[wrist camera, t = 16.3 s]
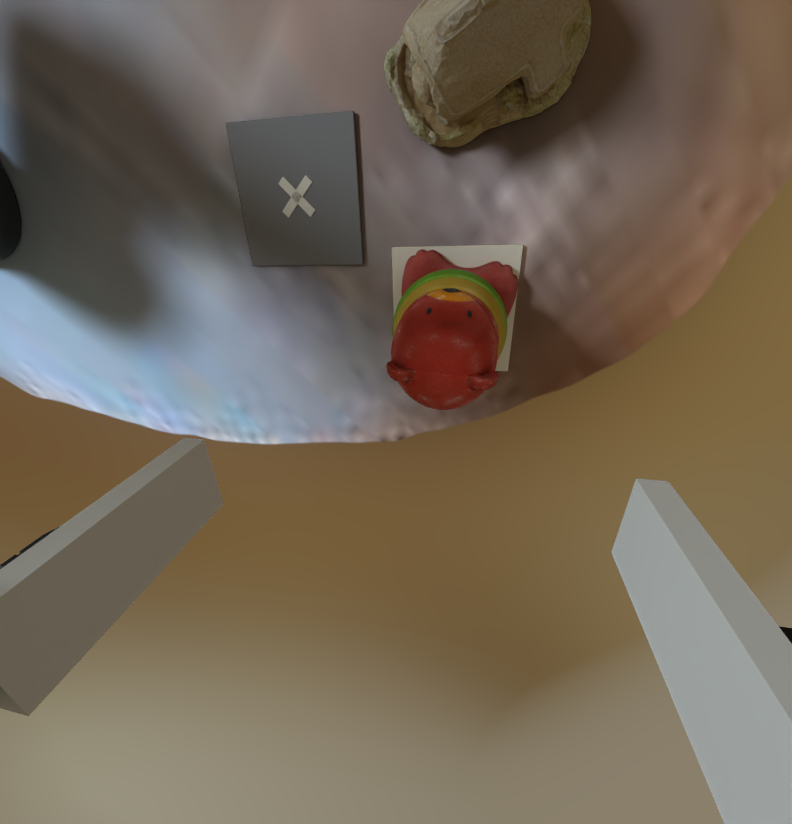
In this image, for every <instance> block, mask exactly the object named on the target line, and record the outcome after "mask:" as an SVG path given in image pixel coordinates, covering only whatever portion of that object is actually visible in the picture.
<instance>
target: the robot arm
mask: <svg viewBox="0 0 792 824" xmlns="http://www.w3.org/2000/svg"><path fill="white" fill-rule="evenodd" d="M19 236H20V216H19V210H18V205H17V202H16V198H15V195H14V192H13V190H12V187H11V185H10V183H9V180H8V178H7V176H6V174H5V172H4V171H3V169H2V167H1V165H0V260H1V259H4V258H6V257H8V256H9V255H10V254H11V253H12V252H13V251H14V250H15V248H16V246H17V244H18V241H19ZM223 504H224V503H223V500H222V496H221V493H220V490H219V487H218V483H217V480H216V477H215V474H214V471H213V467H212V464H211V461H210V458H209V454H208V451H207V448H206V445H205V441H204V440H202V439H190V438H184V439H182V440H181V441H179V442H178V443H176V444H175V445H174V446H172V447H171V448H169V449H168V450H167V451H165V452H164V453H162V454H161V455H160V456H158V457H157V458H155V459H154V460H153V461H151V462H150V463H148V464H147V465H146V466H144V467H143V468H142V469H140V470H139V471H137V472H136V473H134V474H133V475H132V476H130V477H129V478H127V479H126V480H125V481H123V482H122V483H121V484H119V485H118V486H116V487H115V488H113V489H112V490H111V491H109V492H108V493H106V494H105V495H104V496H102V497H101V498H99V499H98V500H97V501H95V502H94V503H92V504H91V505H90V506H88V507H87V508H85V509H84V510H83V511H81V512H80V513H78V514H77V515H76V516H74V517H73V518H72V519H70V520H69V521H67V522H66V523H64V524H63V525H62V526H60V527H58V528H56V529H54V530H52V531H50V532H48V533H46V534H44V535H42V536H41V537H40V538H38V539H37V540H35V541H34V542H33V543H31V544H30V545H28V546H27V547H25V548H24V549H23V550H21V551H20V554H19V555H14V556H13V557H11V558H10V559H8V560H7V561H6V562H4V563H3V564H1V565H0V708H2V709H5V710H9V711H13V712H16V713H20V714H24V715H27V716H29V715H30V714H31V713H32V712H33V711H34V709H35V708H36V707H37V706H38V705H39V704H40V703H41V702H42V701H43V700H44V699H45V698H46V697H47V695H48V694H49V693H50V692H51V691H52V690H53V689H54V688H55V687H56V686H57V685H58V683H59V682H60V681H61V680H62V679H63V678H64V677H65V676H66V675H67V674H68V673H69V672H70V670H71V669H72V668H73V667H74V666H75V665H76V664H77V663H78V662H79V661H80V660H81V658H82V657H83V656H84V655H85V654H86V653H87V652H88V651H89V650H90V649H91V648H92V647H93V645H94V644H95V643H96V642H97V641H98V640H99V639H100V638H101V636H103V635H104V633H105V632H106V631H107V630H108V629H109V628H110V627H111V626H112V625H113V623H114V622H115V621H116V620H117V619H118V618H119V617H120V616H121V615H122V614H123V613H124V612H125V610H127V608H128V607H129V606H130V605H131V604H132V603H133V602H134V601H135V600H136V599H137V597H138V596H139V595H140V594H141V593H142V592H143V591H144V590H145V589H146V588H147V587H148V586H149V585H150V583H151V582H152V581H153V580H154V579H155V578H156V577H157V576H158V575H159V574H160V573H161V571H162V570H163V569H164V568H165V567H166V566H167V565H168V564H169V563H170V562H171V561H172V560H173V558H174V557H175V556H176V555H177V554H178V553H179V552H180V551H181V550H182V549H183V547H184V546H185V545H186V544H187V543H188V542H189V541H190V540H191V539H192V538H193V537H194V535H195V534H196V533H197V532H198V531H199V530H200V529H201V528H202V527H203V526H204V525H205V523H206V522H207V521H208V520H209V519H210V518H211V517H212V516H213V515H214V514H215V513H216V512H217V510H218V509H219V508H220V507H221V506H222V505H223ZM611 553H612V556H613V558H614V560H615V563H616V565H617V568H618V570H619V572H620V575H621V577H622V580H623V582H624V584H625V587H626V589H627V592H628V594H629V596H630V599H631V601H632V604H633V606H634V608H635V611H636V613H637V615H638V618H639V620H640V623H641V625H642V628H643V630H644V632H645V635H646V637H647V640H648V642H649V644H650V647H651V649H652V651H653V654H654V656H655V659H656V661H657V663H658V666H659V668H660V671H661V673H662V675H663V678H664V680H665V683H666V685H667V687H668V690H669V692H670V695H671V697H672V699H673V702H674V704H675V707H676V709H677V711H678V714H679V716H680V718H681V721H682V723H683V725H684V728H685V731H686V733H687V735H688V738H689V740H690V743H691V745H692V747H693V750H694V752H695V755H696V757H697V759H698V762H699V764H700V767H701V769H702V771H703V774H704V776H705V778H706V781H707V783H708V786H709V788H710V791H711V793H712V795H713V798H714V800H715V803H716V805H717V807H718V810H719V812H720V815H721V817H722V819H723V822H724V824H792V628H786V627H779V626H778V625H777V624H776V623H775V621H774V620H773V618H772V617H771V616H770V615H769V613H768V612H767V611H766V609H765V608H764V607H763V606H762V604H761V603H760V602H759V600H758V599H757V598H756V596H755V595H754V594H753V593H752V591H751V590H750V588H749V587H748V586H747V584H746V583H745V582H744V581H743V579H742V578H741V576H740V575H739V574H738V573H737V571H736V570H735V568H734V567H733V566H732V565H731V563H730V562H729V561H728V559H727V558H726V557H725V556H724V554H723V553H722V551H721V550H720V549H719V547H718V546H717V545H716V544H715V542H714V541H713V540H712V538H711V537H710V536H709V534H708V533H707V532H706V530H705V529H704V528H703V526H702V525H701V524H700V523H699V521H698V520H697V519H696V517H695V516H694V515H693V513H692V512H691V511H690V509H689V508H688V507H687V505H686V504H685V503H684V501H683V500H682V499H681V498H680V496H679V495H678V494H677V492H676V491H675V490H674V488H673V487H672V486H671V484H670V483H669V482H668V481H659V480H648V479H636V480H635V483H634V486H633V489H632V492H631V495H630V498H629V501H628V504H627V507H626V510H625V513H624V516H623V519H622V522H621V525H620V528H619V531H618V534H617V537H616V540H615V543H614V546H613V549H612V552H611Z"/></svg>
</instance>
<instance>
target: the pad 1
mask: <svg viewBox="0 0 792 824" xmlns="http://www.w3.org/2000/svg"><path fill="white" fill-rule="evenodd" d="M226 128H227V133H228V138H229V143H230V149H231V154H232V159H233V164H234V170H235V175H236V180H237V185H238V191H239V196H240V201H241V207H242V212H243V217H244V222H245V228H246V233H247V238H248V243H249V249H250V254H251V259H252V264H253V266H284V265H363V264H364V261H363V245H362V229H361V212H360V196H359V180H358V164H357V147H356V131H355V115H354V111H346V112H335V113H325V114H314V115H304V116H293V117H283V118H272V119H262V120H251V121H241V122H230V123H226Z"/></svg>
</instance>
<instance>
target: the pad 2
mask: <svg viewBox="0 0 792 824" xmlns="http://www.w3.org/2000/svg"><path fill="white" fill-rule="evenodd" d="M421 249H424V250H426V251H429V250H436V251H437V252H439V253H440V254H441V255H442V256H443V257H444V258H445V259H447V260H448V261H449V262H450V263H452V264H454V265H456V266H459V267H464V268H474V267H479V266H482V265H484V264H487V263H489V262H492V261H498V262H500V263H501V264H502V265H505V264H507V265H510V266H511V267H512V269H513V274H515V275H516V276H517V277H518V283H519V274H520V266H521V258H522V249H523V244H515V245H468V246H421V247H392V273H393V308H394V314H395V311H396V308H397V305H398V303H399V301H400V299H401V297H402V295H401V290H402V279H403V273H404V269H405V265H406V262H407V260H408V259H409V258H410V257H411V256H413V255H416V253H417V251H419V250H421ZM517 291H518V289H517ZM516 300H517V293H516V297H515V300H514V303H513V306H512V309H511V311H510V313H509V315H508V317H507V336H506V341H505V344H504V348H503V350H502V352H501V354H500V356H499V358H498V360H497V365H496V370H495V371H508V366H509V358H510V350H511V341H512V333H513V325H514V316H515V308H516Z"/></svg>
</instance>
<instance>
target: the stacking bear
mask: <svg viewBox="0 0 792 824" xmlns="http://www.w3.org/2000/svg"><path fill="white" fill-rule="evenodd" d="M517 289H518V277H517V276H516V275H515V274H513V269H512V267H511V266H510V265H507V264H505V265H502V264H501V263H500V262H498V261H492V262H489V263H487V264H484V265H482V266H479V267H474V268H464V267H459V266H456V265H454V264H452V263H450V262H449V261H448V260H447V259H445V258H444V257H443V256H442V255H441V254H440V253H439V252H437V251H436V250H429V251H426V250H424V249H421V250H419V251H417V253H416V255H413V256H411V257H410V258H409V259H408V260H407V262H406V265H405V269H404V273H403V279H402V290H401V295H402V297H401V299H400V301H399V303H398V305H397V308H396V311H395V314H394V319H393V327H392V335H393V342H392V349H391V356H392V361H390V362H388V363H387V372H388V374H389V375H390V377H391V378H392V379H394V380H395V381H397V382H399V384H400V386H401V387H402V388H403V390H404V391H405V392H406V393H407V394H408V395H409V396H410V397H411V398H413V399H414V400H415V401H417V402H418V403H420V404H422V405H424V406H426V407H429V408H432V409H438V410H448V409H455V408H459V407H462V406H464V405H466V404H468V403H470V402H472V401H473V400H475V399H476V398H477V397H479V396H480V395H481V394H482V393H483V392H484V391H485V390H488V389H490V388H492V387H493V386H494V385H495V384H496V383H497V381H498V379H499V374H498V373H497V372H496V371H495V370H496V365H497V360H498V358H499V356H500V354H501V352H502V350H503V348H504V344H505V341H506V336H507V317H508V315H509V313H510V311H511V309H512V306H513V303H514V300H515V297H516V293H517Z"/></svg>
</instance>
